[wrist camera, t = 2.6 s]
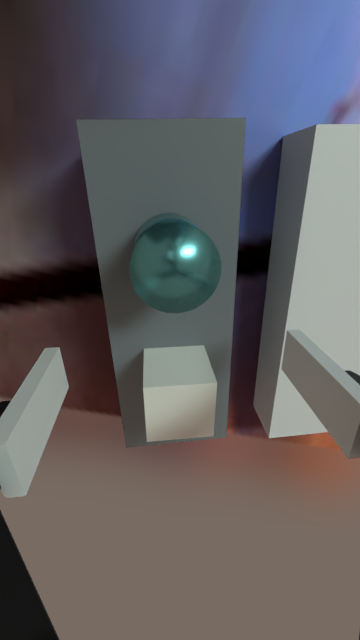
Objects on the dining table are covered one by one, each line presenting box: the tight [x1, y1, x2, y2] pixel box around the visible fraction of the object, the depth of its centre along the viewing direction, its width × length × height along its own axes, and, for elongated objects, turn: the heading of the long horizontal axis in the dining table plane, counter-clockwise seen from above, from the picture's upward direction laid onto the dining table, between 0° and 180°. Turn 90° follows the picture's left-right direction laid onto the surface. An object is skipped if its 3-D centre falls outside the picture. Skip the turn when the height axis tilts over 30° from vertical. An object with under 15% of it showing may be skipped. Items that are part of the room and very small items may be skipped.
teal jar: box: [129, 213, 221, 313], centre depth 16 cm, size 4×4×5 cm
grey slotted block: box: [76, 118, 246, 447], centre depth 24 cm, size 24×9×8 cm, turn 2°
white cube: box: [143, 345, 217, 442], centre depth 20 cm, size 4×4×4 cm
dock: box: [253, 124, 360, 438], centre depth 27 cm, size 28×14×5 cm, turn 2°
